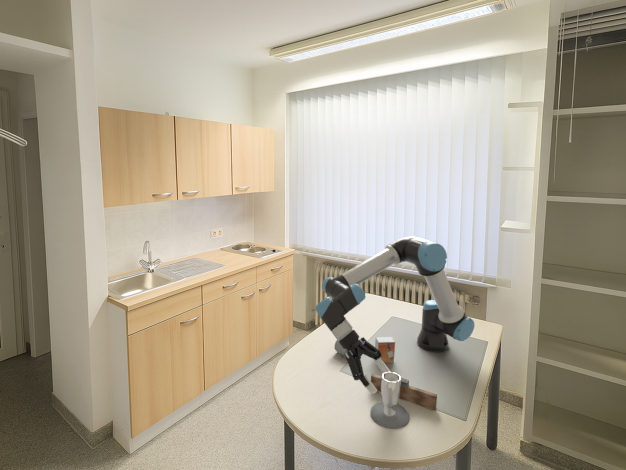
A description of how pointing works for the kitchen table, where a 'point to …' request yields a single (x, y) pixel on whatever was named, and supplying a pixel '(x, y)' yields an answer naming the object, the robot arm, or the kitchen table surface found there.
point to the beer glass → (390, 394)
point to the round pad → (390, 423)
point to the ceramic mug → (340, 348)
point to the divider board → (410, 393)
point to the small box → (386, 348)
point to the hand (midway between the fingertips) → (381, 383)
